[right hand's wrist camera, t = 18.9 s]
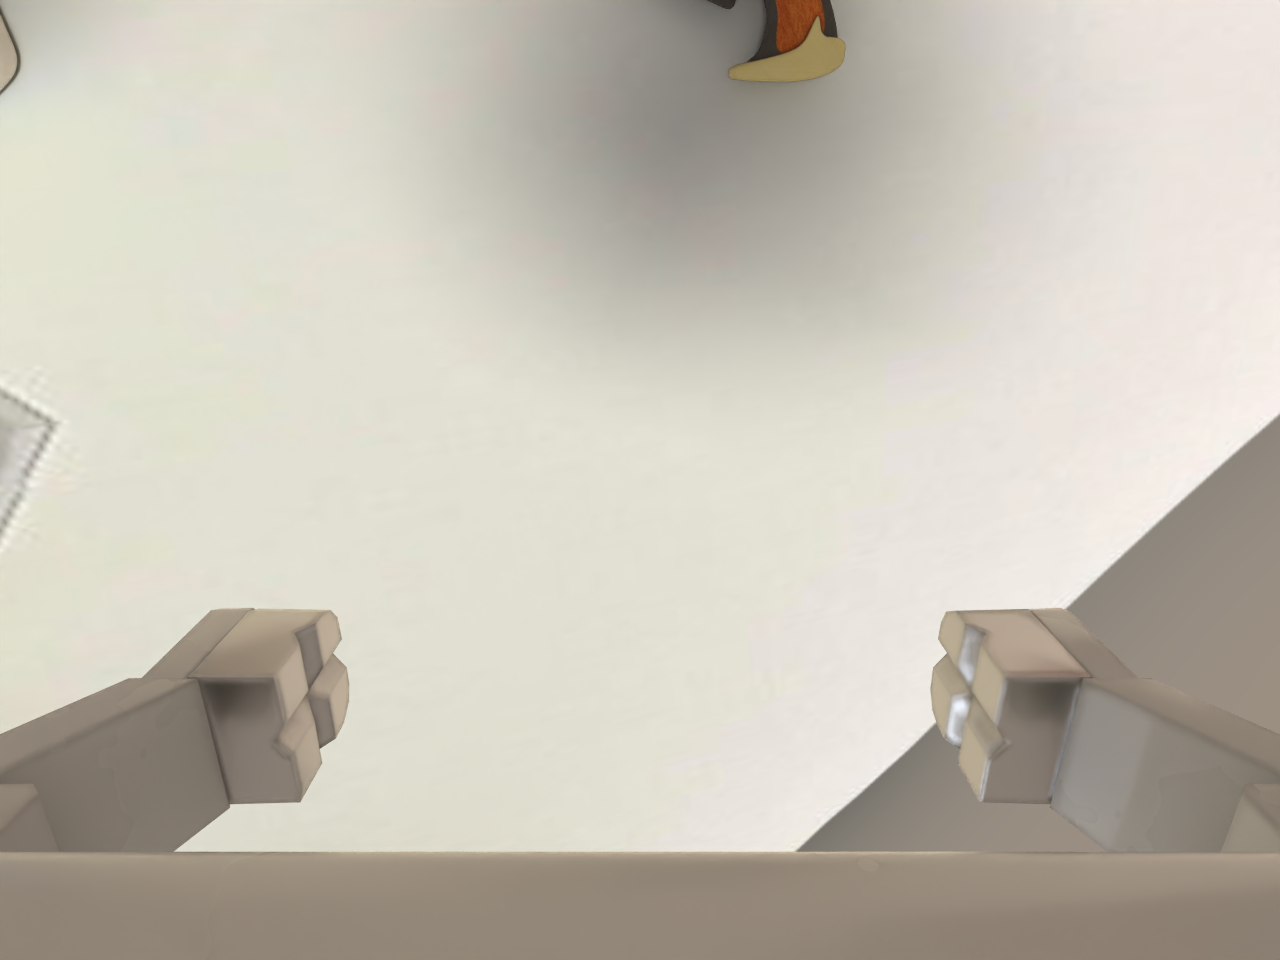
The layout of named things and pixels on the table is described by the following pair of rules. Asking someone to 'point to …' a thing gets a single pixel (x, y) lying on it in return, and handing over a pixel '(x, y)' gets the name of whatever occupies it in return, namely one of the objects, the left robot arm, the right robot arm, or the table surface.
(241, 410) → the table surface
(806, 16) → the toy gun
